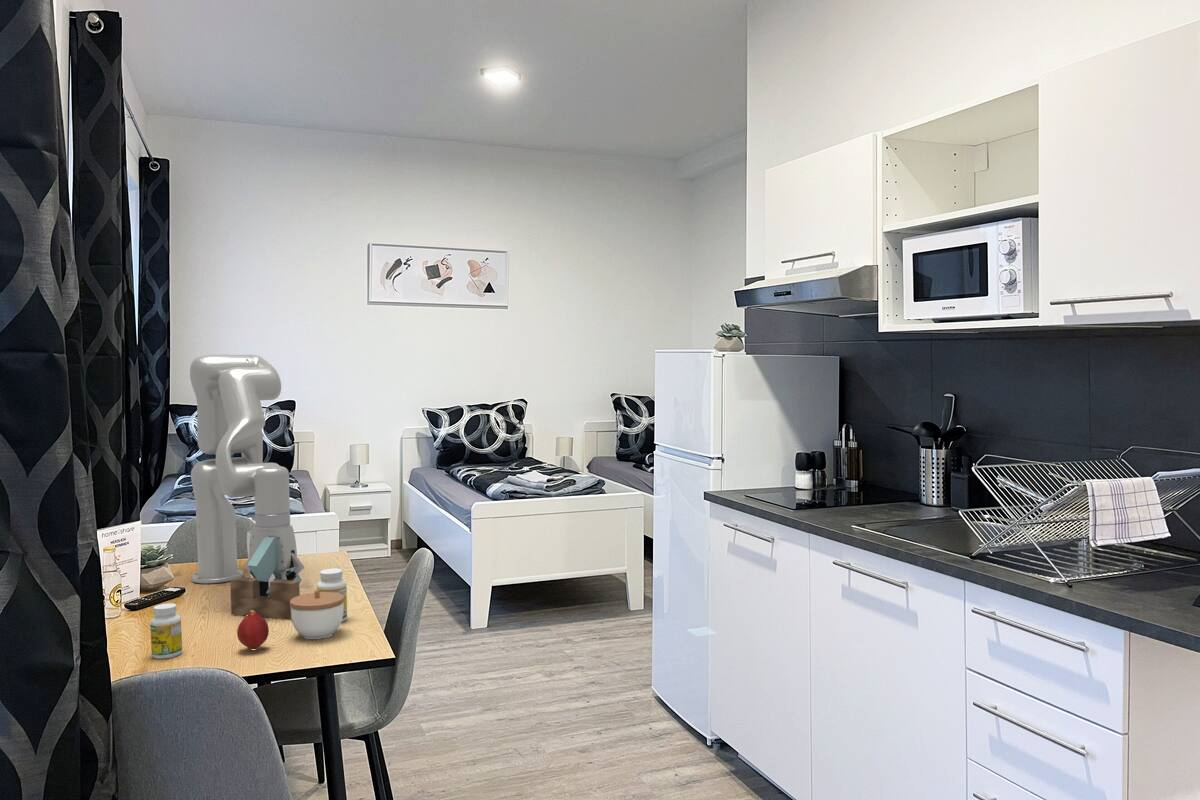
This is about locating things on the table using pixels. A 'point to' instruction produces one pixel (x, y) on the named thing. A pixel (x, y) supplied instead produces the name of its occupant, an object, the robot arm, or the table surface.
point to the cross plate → (266, 562)
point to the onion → (253, 630)
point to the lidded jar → (317, 613)
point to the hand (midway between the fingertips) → (275, 597)
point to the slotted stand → (263, 597)
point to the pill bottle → (334, 585)
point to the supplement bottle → (166, 632)
